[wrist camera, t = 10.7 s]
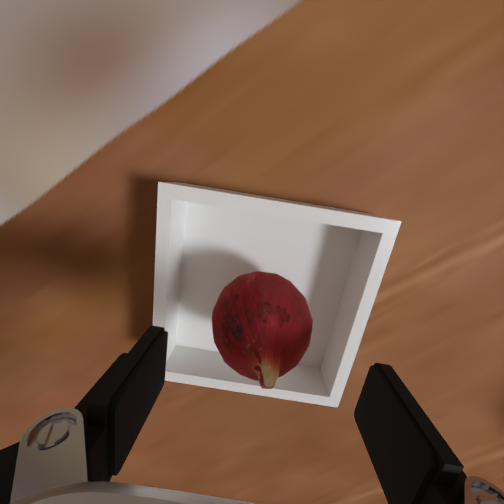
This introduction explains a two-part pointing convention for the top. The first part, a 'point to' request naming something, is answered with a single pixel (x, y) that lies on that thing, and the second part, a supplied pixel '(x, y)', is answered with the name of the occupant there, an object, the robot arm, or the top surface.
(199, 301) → the box
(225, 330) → the onion
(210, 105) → the top surface
